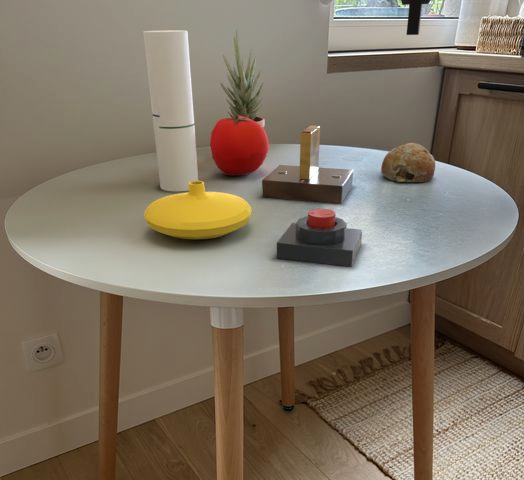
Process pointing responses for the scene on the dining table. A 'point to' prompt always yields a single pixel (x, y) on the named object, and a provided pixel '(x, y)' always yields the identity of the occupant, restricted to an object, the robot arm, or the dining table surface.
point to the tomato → (238, 145)
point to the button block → (320, 243)
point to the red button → (321, 218)
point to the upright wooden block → (309, 152)
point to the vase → (198, 213)
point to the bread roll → (408, 164)
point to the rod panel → (308, 184)
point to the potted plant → (243, 87)
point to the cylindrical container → (172, 107)
